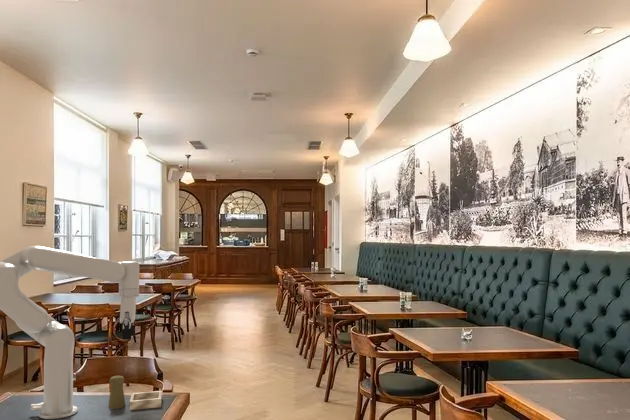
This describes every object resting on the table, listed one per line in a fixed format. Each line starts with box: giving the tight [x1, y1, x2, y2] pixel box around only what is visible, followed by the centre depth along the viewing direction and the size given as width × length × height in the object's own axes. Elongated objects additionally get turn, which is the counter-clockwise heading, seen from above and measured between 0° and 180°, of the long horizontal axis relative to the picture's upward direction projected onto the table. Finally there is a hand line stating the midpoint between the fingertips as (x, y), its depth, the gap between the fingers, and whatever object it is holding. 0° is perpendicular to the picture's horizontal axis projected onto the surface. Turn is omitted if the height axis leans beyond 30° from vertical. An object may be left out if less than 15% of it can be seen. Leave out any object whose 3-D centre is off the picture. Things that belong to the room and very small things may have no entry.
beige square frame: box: [129, 390, 163, 411], centre depth 206 cm, size 11×11×3 cm
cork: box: [108, 375, 126, 410], centre depth 205 cm, size 6×6×11 cm
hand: (128, 337), depth 214 cm, fingers open, 9 cm apart
